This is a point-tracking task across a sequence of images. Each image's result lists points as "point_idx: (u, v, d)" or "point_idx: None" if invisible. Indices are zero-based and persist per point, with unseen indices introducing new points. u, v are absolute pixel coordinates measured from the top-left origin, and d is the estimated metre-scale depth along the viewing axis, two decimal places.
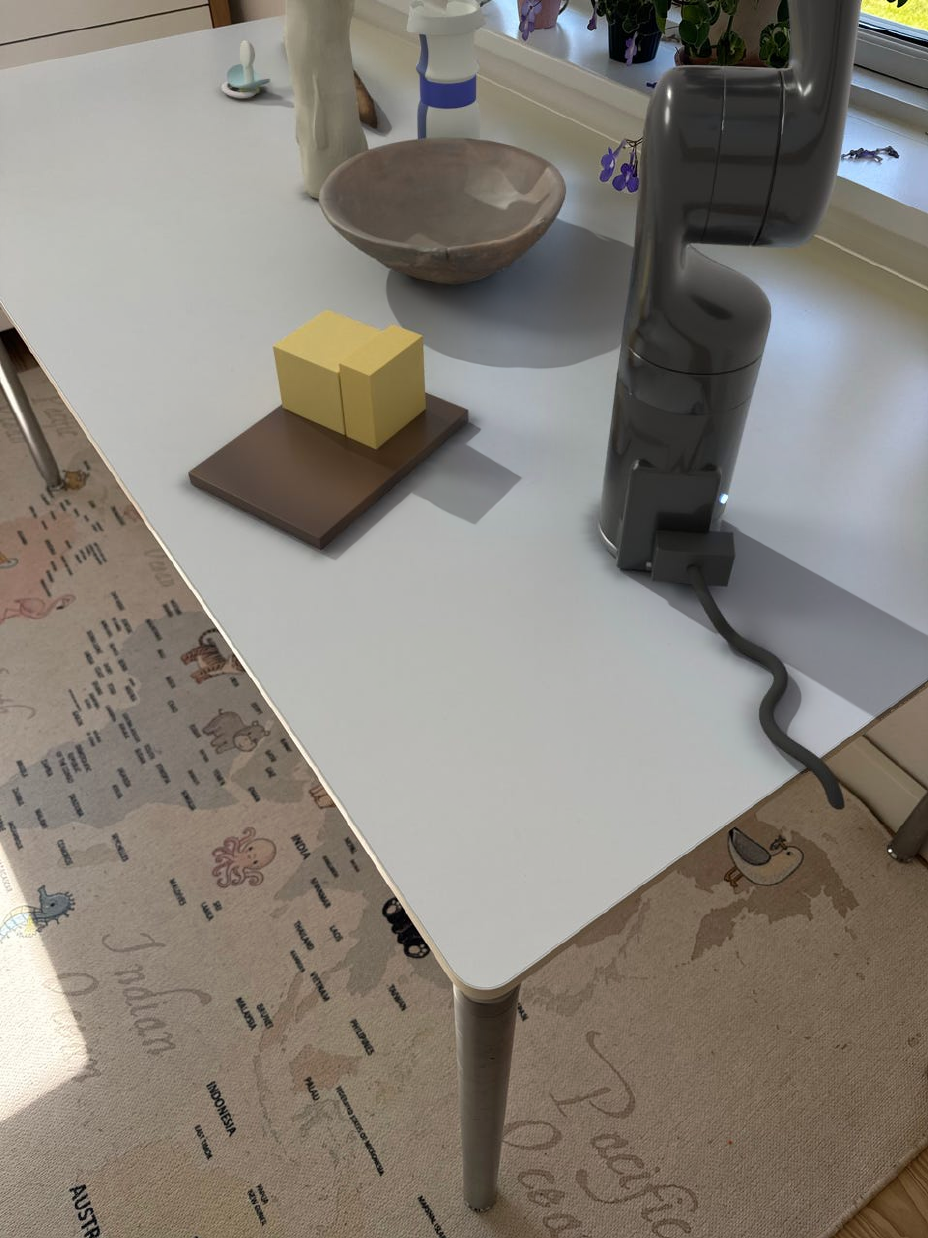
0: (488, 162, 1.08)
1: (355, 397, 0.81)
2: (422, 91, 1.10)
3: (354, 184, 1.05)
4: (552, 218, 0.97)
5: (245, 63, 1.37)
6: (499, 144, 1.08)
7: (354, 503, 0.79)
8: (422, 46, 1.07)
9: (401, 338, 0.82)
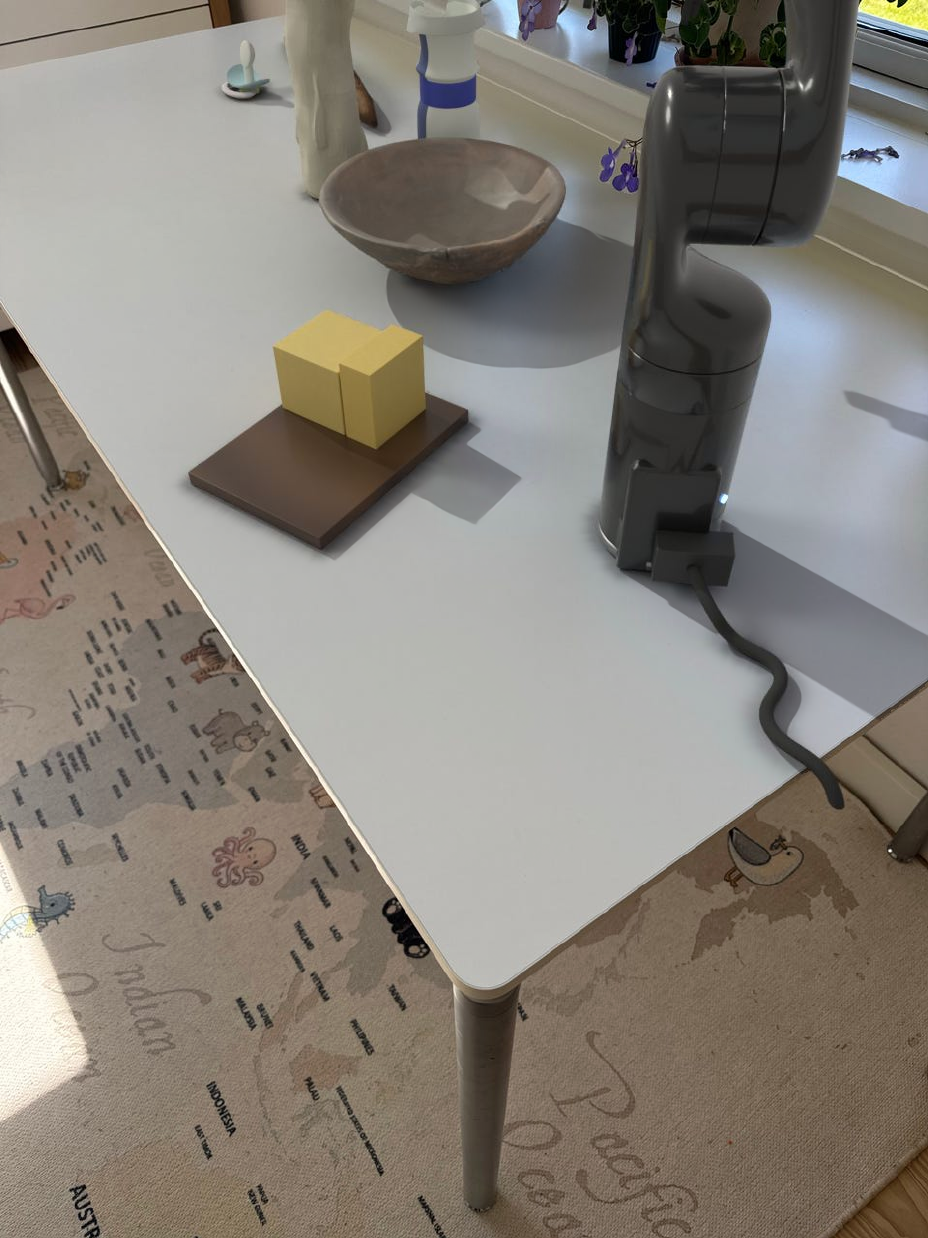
0: (488, 162, 1.08)
1: (355, 397, 0.81)
2: (422, 91, 1.10)
3: (354, 184, 1.05)
4: (552, 218, 0.97)
5: (245, 63, 1.37)
6: (499, 144, 1.08)
7: (354, 503, 0.79)
8: (422, 46, 1.07)
9: (401, 338, 0.82)
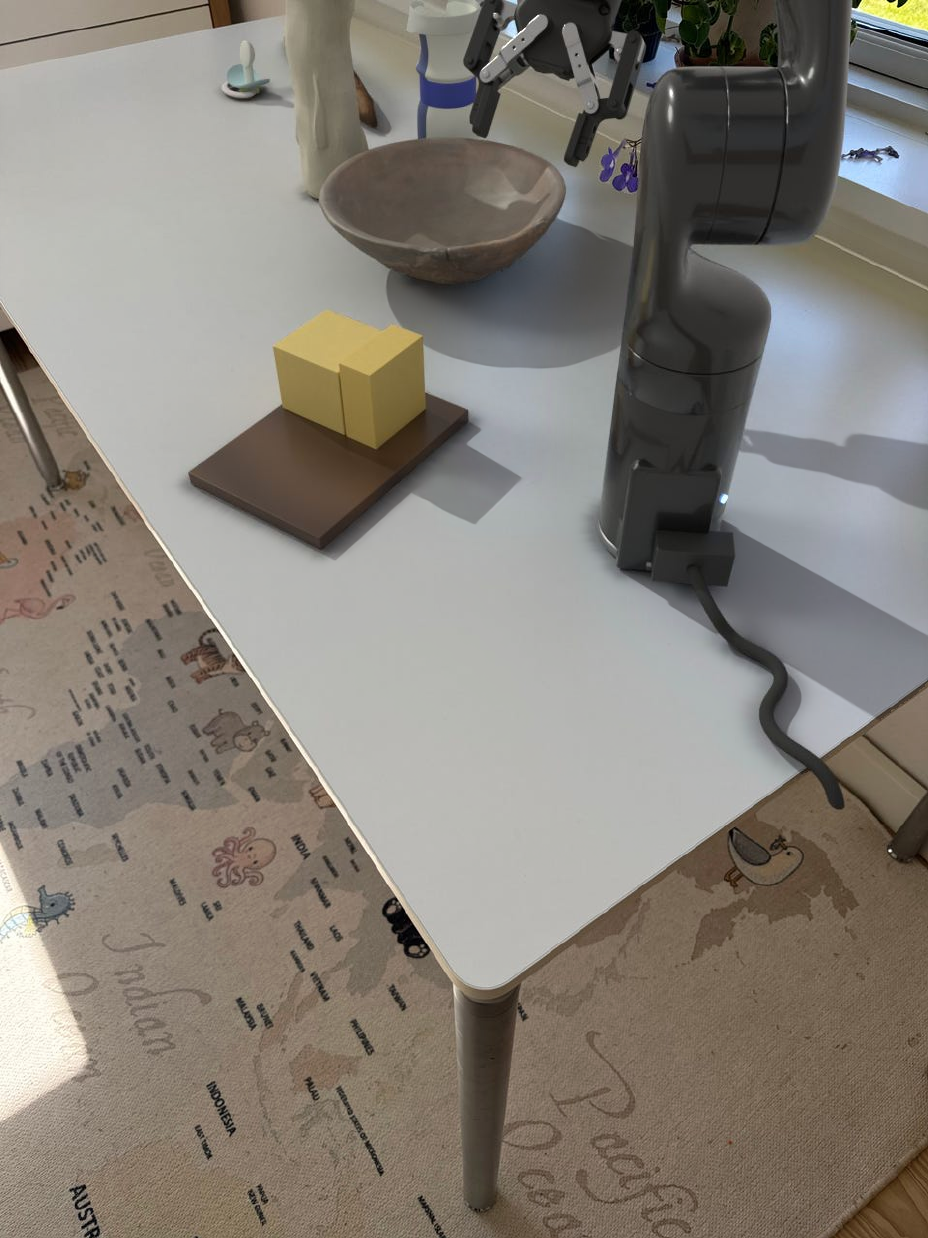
0: (488, 162, 1.08)
1: (355, 397, 0.81)
2: (422, 91, 1.10)
3: (354, 184, 1.05)
4: (552, 218, 0.97)
5: (245, 63, 1.37)
6: (499, 144, 1.08)
7: (354, 503, 0.79)
8: (422, 46, 1.07)
9: (401, 338, 0.82)
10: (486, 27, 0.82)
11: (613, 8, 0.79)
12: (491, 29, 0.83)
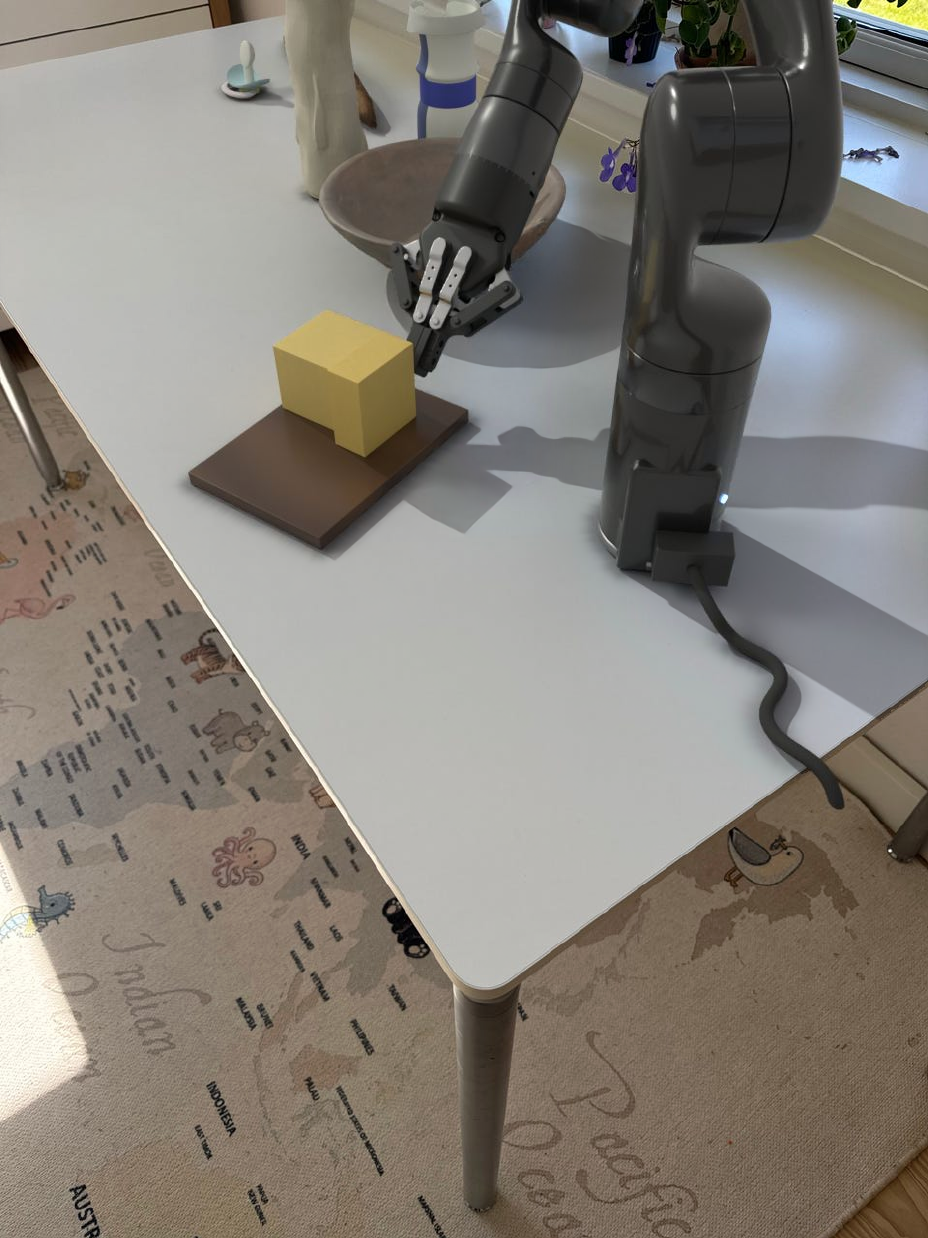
0: None
1: (343, 405, 0.80)
2: (422, 91, 1.10)
3: (354, 184, 1.05)
4: (552, 218, 0.97)
5: (245, 63, 1.37)
6: None
7: (354, 503, 0.79)
8: (422, 46, 1.07)
9: (391, 345, 0.81)
10: (404, 269, 0.84)
11: (509, 237, 0.81)
12: (409, 270, 0.84)
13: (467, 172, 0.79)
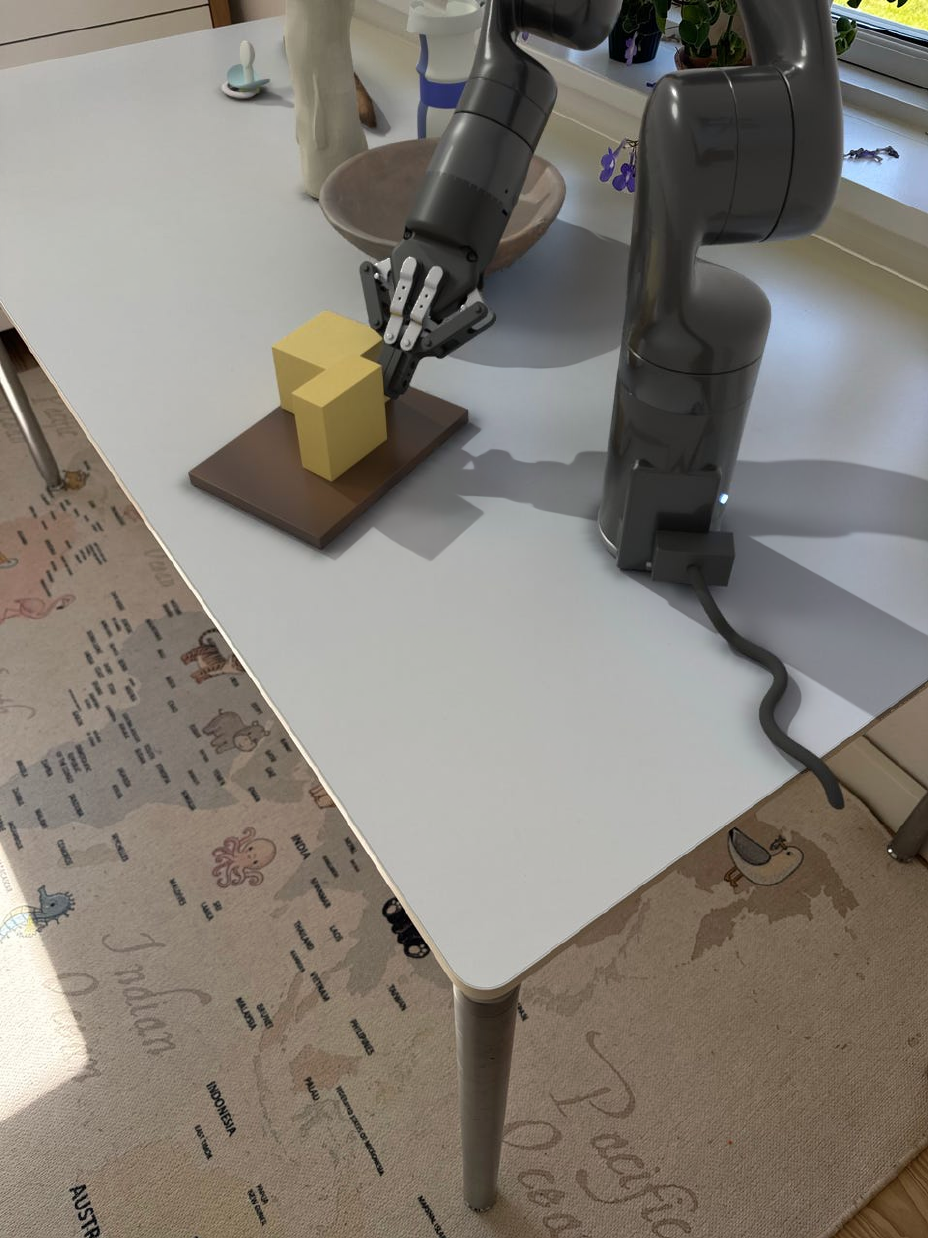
0: None
1: (308, 428, 0.78)
2: (422, 91, 1.10)
3: (354, 184, 1.05)
4: (552, 218, 0.97)
5: (245, 63, 1.37)
6: None
7: (354, 503, 0.79)
8: (422, 46, 1.07)
9: (359, 368, 0.79)
10: (374, 289, 0.82)
11: (482, 256, 0.79)
12: (380, 290, 0.82)
13: (438, 190, 0.77)
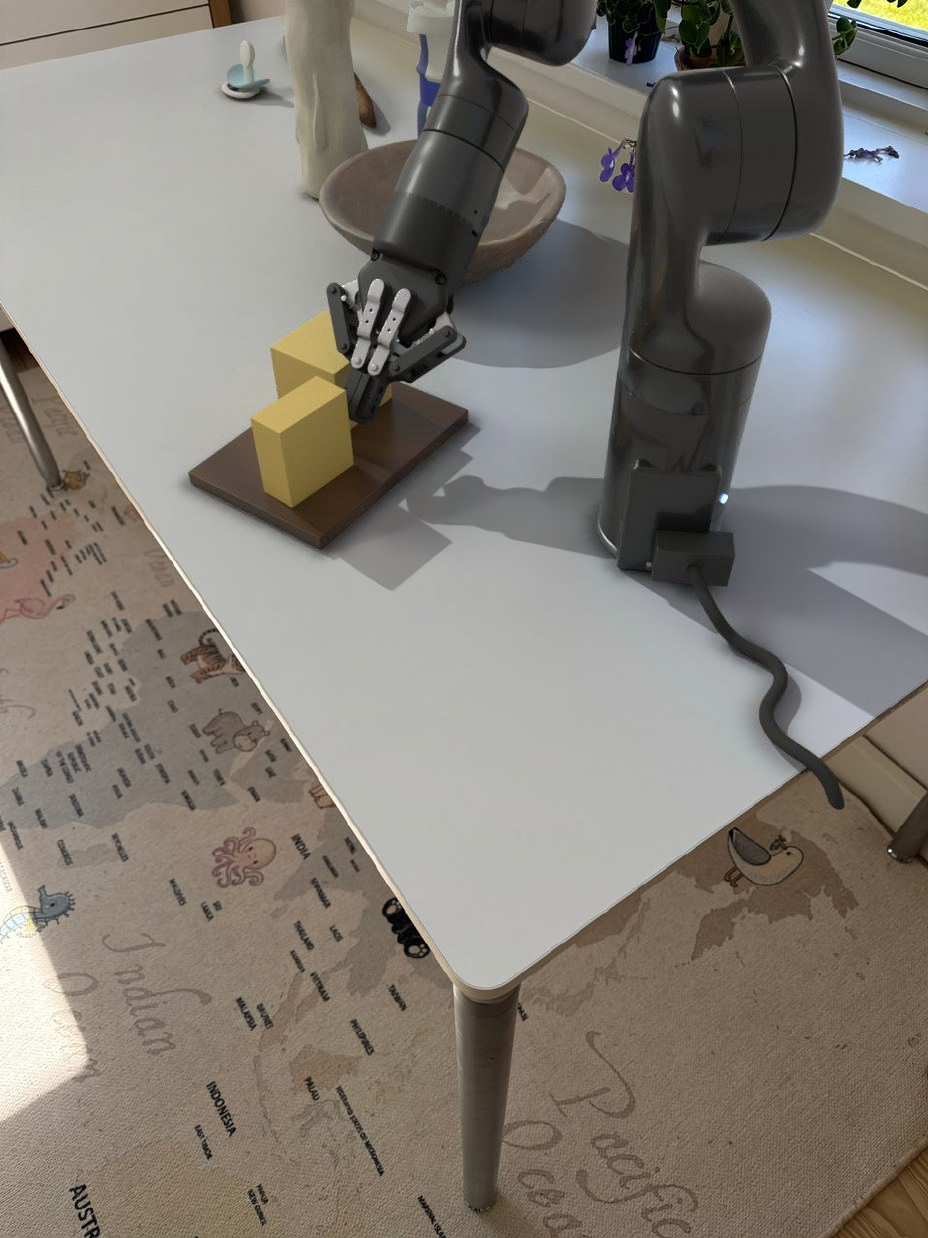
0: None
1: (268, 454, 0.76)
2: (422, 91, 1.10)
3: (354, 184, 1.05)
4: (552, 218, 0.97)
5: (245, 63, 1.37)
6: None
7: (354, 503, 0.79)
8: (422, 46, 1.07)
9: (322, 392, 0.77)
10: (341, 312, 0.79)
11: (451, 279, 0.76)
12: (347, 312, 0.80)
13: (405, 211, 0.75)
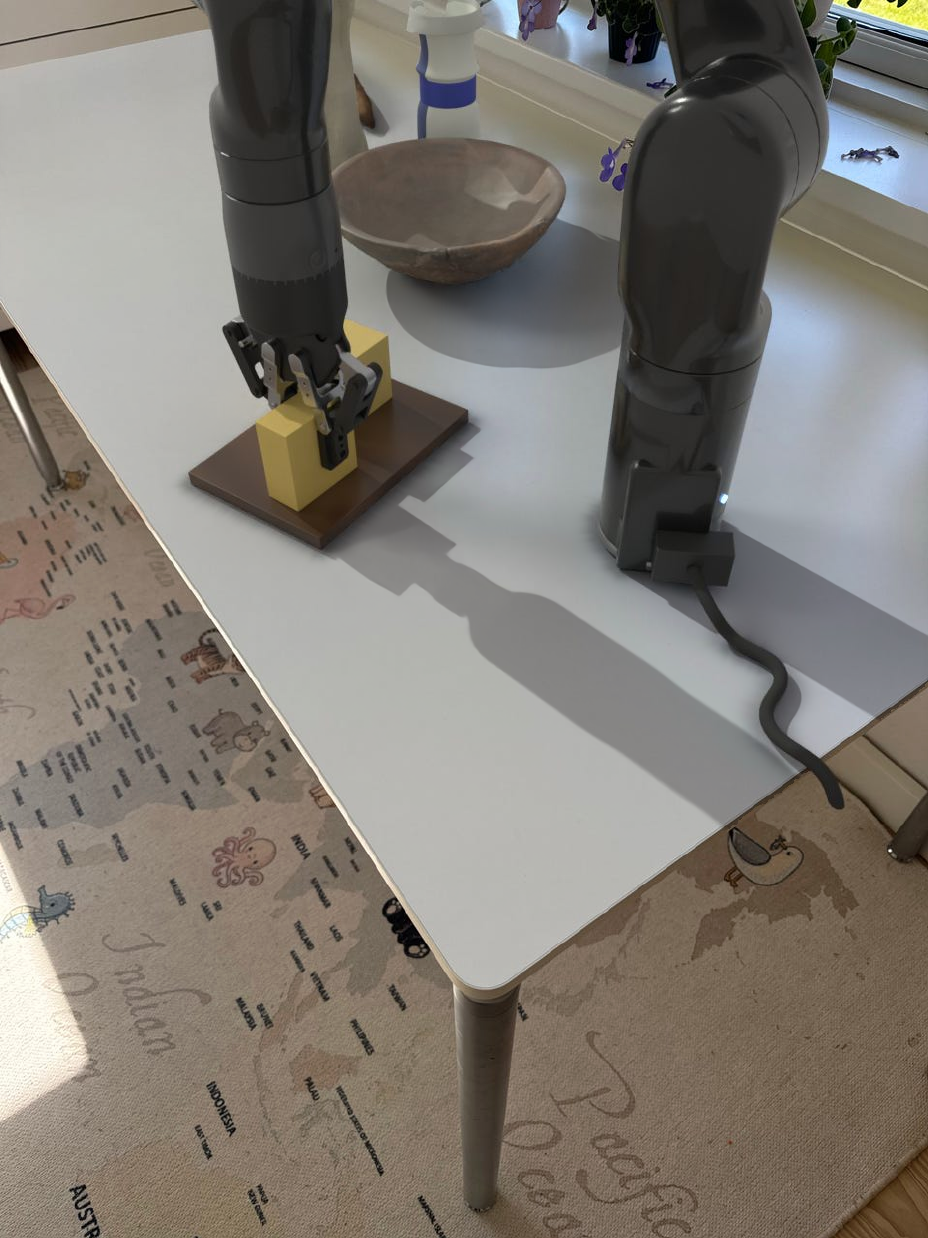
0: (488, 162, 1.08)
1: (273, 458, 0.76)
2: (422, 91, 1.10)
3: (354, 184, 1.05)
4: (552, 218, 0.97)
5: None
6: (499, 144, 1.08)
7: (354, 503, 0.79)
8: (422, 46, 1.07)
9: None
10: None
11: None
12: None
13: None
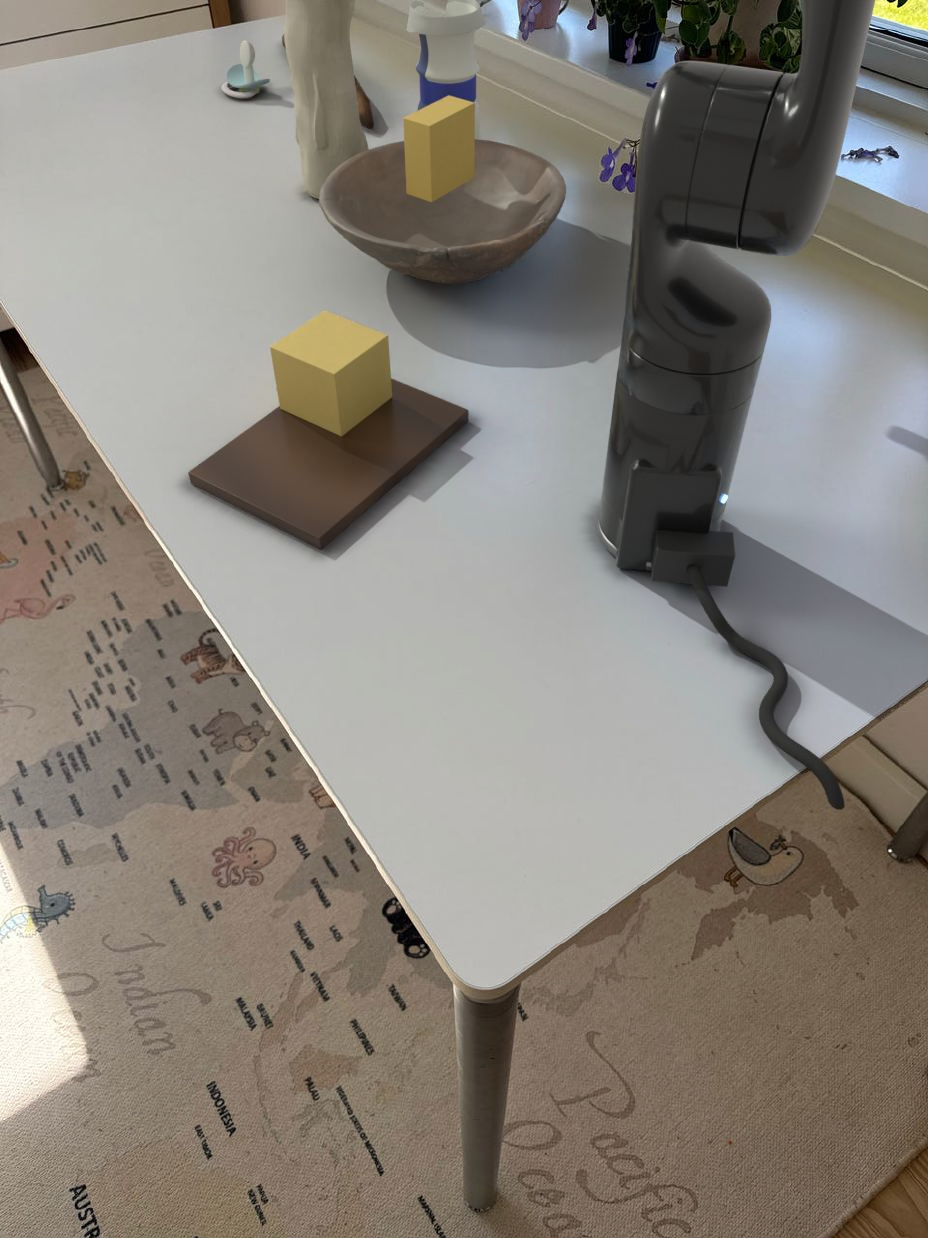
0: (488, 162, 1.08)
1: (415, 151, 0.95)
2: (422, 91, 1.10)
3: (354, 184, 1.05)
4: (552, 218, 0.97)
5: (245, 63, 1.37)
6: (499, 144, 1.08)
7: (354, 503, 0.79)
8: (422, 46, 1.07)
9: (456, 103, 0.96)
10: None
11: None
12: None
13: None
